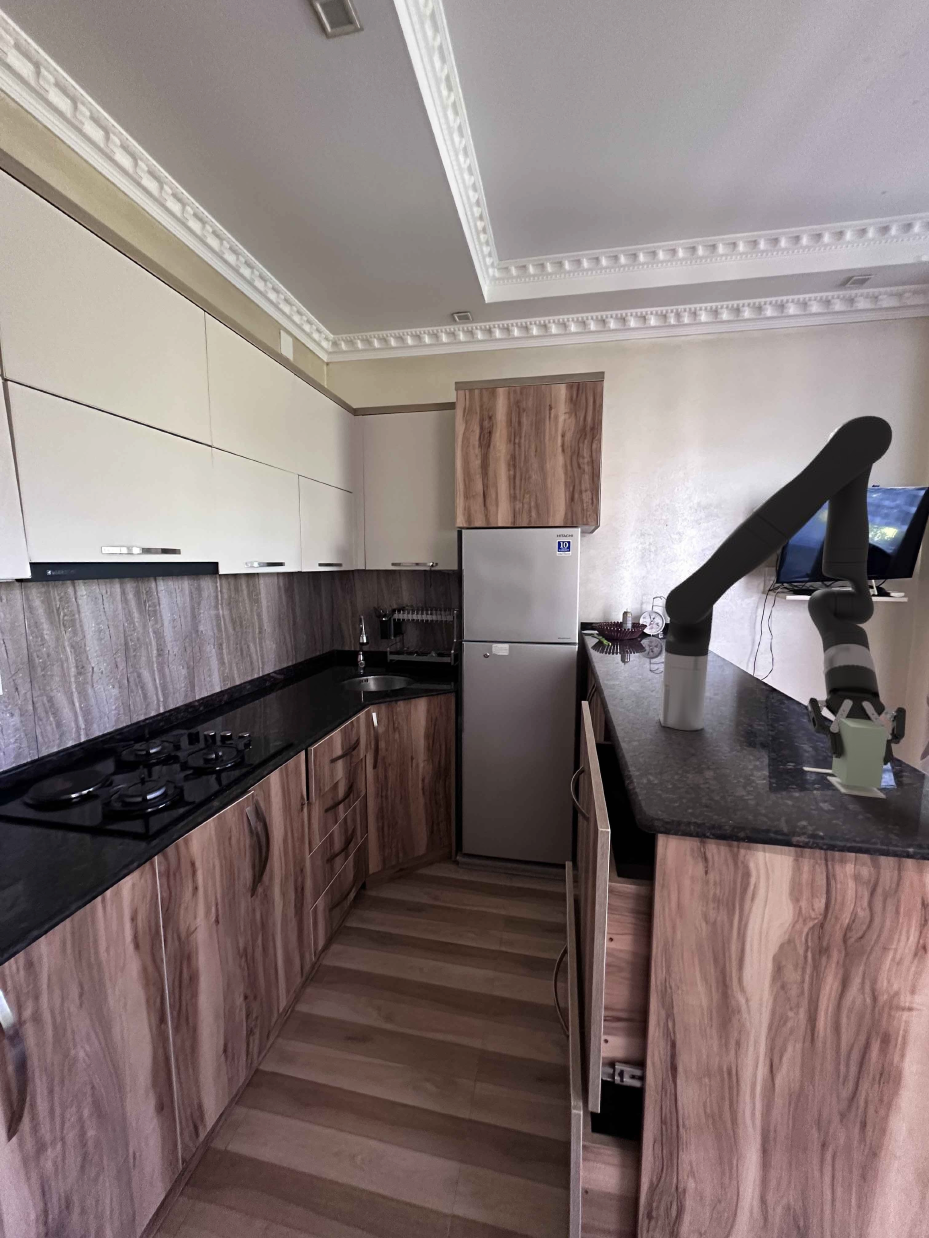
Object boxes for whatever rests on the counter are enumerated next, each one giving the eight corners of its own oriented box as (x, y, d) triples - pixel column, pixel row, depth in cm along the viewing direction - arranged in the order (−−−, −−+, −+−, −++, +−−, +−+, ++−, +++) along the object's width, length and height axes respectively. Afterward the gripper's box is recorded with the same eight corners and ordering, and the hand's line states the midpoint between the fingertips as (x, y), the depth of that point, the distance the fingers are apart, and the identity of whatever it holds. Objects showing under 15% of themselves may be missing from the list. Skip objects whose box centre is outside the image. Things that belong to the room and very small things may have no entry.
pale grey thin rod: (805, 770, 90) (805, 769, 90) (802, 768, 91) (802, 767, 91) (882, 779, 87) (882, 778, 87) (879, 776, 88) (879, 775, 88)
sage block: (845, 784, 82) (851, 726, 80) (831, 771, 86) (837, 717, 85) (880, 788, 80) (887, 729, 79) (865, 775, 85) (871, 720, 84)
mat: (842, 793, 81) (842, 791, 81) (826, 777, 87) (826, 776, 87) (885, 798, 80) (885, 796, 80) (866, 782, 85) (866, 780, 85)
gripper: (806, 659, 91) (814, 742, 82) (906, 667, 85) (926, 758, 75) (799, 680, 96) (804, 761, 87) (892, 689, 90) (909, 777, 81)
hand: (861, 759), depth 81 cm, fingers closed on sage block, 5 cm apart
